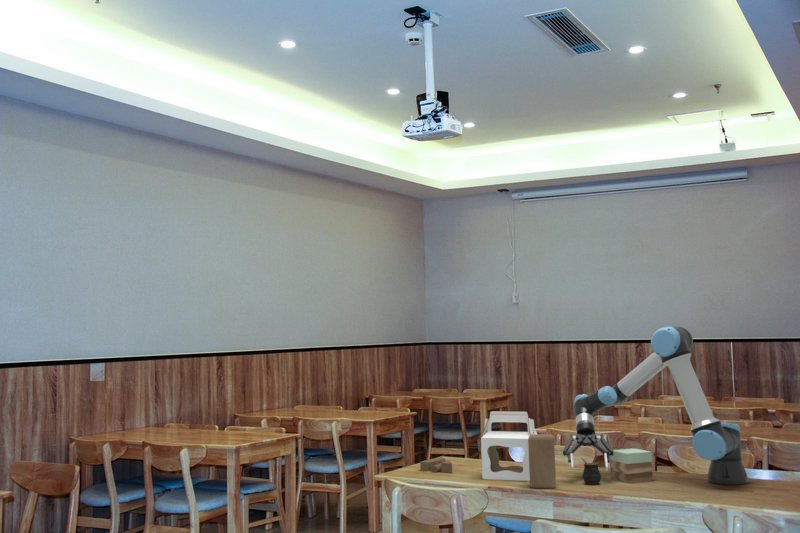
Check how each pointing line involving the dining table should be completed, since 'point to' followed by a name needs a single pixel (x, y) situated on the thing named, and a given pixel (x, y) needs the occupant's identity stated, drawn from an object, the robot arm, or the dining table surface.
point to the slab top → (631, 456)
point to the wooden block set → (436, 465)
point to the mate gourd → (591, 473)
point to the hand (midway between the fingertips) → (589, 468)
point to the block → (542, 461)
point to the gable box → (505, 439)
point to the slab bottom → (631, 477)
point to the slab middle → (631, 467)
